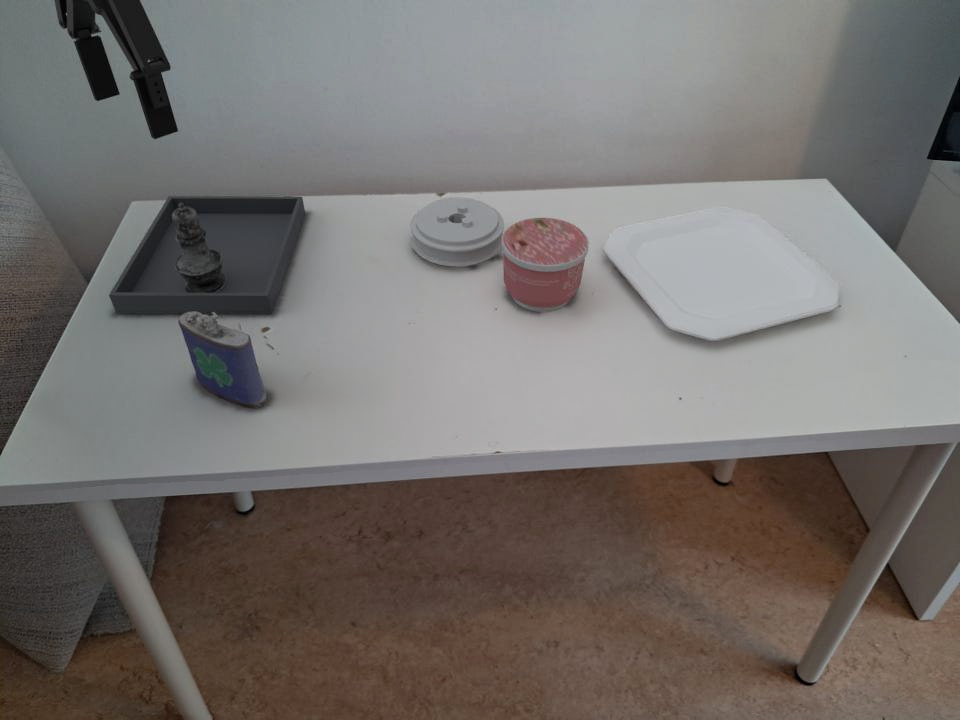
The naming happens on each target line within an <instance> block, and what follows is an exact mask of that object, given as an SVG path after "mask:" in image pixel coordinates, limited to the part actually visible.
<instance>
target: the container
mask: <svg viewBox="0 0 960 720" xmlns="http://www.w3.org/2000/svg"><path fill="white" fill-rule="evenodd" d="M588 239H589V238H588V237H587V235H586V234H585V232H584V231H583V230H582V229H581V228H579V227H578V226H576V225H575V224H573V223H571V222H569V221H566V220H562V219H560V218H559V219H558V218H553V217H531V218H527V219H523V220H519V221H517V222H515V223H513V224H511V225H510V226H509V227H508V228H506V229H505V231H503V236H502V240H501V246H502V248H501V251H502V266H503V267H502V270H503V283H504V285H505V287H506V289H507V291H508V294H509V295H510V296H511V297H512V299H513V301H514V302H515V303H516V304H517V305H518V306H520V307H521V308H524V309H526V310H529V311H532V312H537V313H538V312H539V313H549V312H554V311H557V310H559V309H562V308H564V307H565V306H567V304H568V303H569V302H570V301H571V300H572V299H573V298H574V296H575V295H576V293H577V292H578V290H579V289H580V287H581V283H582V278H583V272H584V267H585V262H586V257H587V255H588V252H589V245H590V244H589V243H590V242H589V240H588Z"/></svg>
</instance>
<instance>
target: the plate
mask: <svg viewBox="0 0 960 720" xmlns="http://www.w3.org/2000/svg"><path fill="white" fill-rule="evenodd" d="M602 253H603V254H604V255H605V256H606V258H608V260H609V261H610V262H611V263H612V265H614V267H615V268H616V269H617V270H618V271H619V273H621V275H622V276H623V277H624V279H625V280H626V281H627V282H628V283H629V284H630V285H631V287H633V289H634V290H635V291H636V292H637V294H638V295H639V296H640V297H641V298H642V299H643V301H644V302H645V303H646V305H648V307H649V308H650V309H651V310H652V311H653V312H654V313H655V315H656V316H657V318H659V319H660V320H661V322H662V323H663V324H664V325H665V327H667V328H668V329H670V330H672V331H673V332H674V331H675V332H678V333H682V334H685V335H688V336H692V337H696V338H700V339H703V340H707V341H711V342H712V341H713V342H717V341H722V340H725V339H730V338H732V337H737V336H740V335H743V334H748V333H752V332H757V331H760V330H763V329H768V328H771V327H774V326H779V325H782V324H783V325H784V324H787V323H790V322H794V321H797V320H801V319H805V318H806V319H807V318H810V317H813V316H817V315H820V314H821V315H822V314H825V313H828V312H832V311H834V310H835V309H836V308H838V306H839V300H840V293H841V289H842V284H841V282H840V281H839V280H838V279H837V278H835V277H834V276H833V275H832V274H830V273H829V272H828V271H827V270H826V269H824V268H823V267H822V266H821V265H820V264H818V263H817V262H816V261H815V260H814V259H813V258H811V257H810V256H809V255H807V253H805V252H804V251H803V250H801V248H799V247H798V246H797V245H796V244H795V243H794V242H792V241H790V239H788V238H787V237H786V236H784V234H782V233H781V232H780V231H779V230H778V229H776V228H775V227H773V225H771V224H770V223H769V222H768V221H767V220H765V219H764V218H763V217H762V216H761V215H759V214H757V213H755V212H750V211H746V210H741V209H737V208H733V207H728V206H722V205H721V206H714V207H710V208H705V209H700V210H696V211H691V212H685V213H680V214H677V215H671V216H666V217H662V218H657V219H652V220H651V219H650V220H647V221H643V222H637V223H632V224H628V225H623V226H619V227H618V226H617V227H615V228H614V229H612V230H611V232H610V233H609V235H608V236H607V238H606V239H605V241H604V244H603V245H602Z"/></svg>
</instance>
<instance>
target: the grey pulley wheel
mask: <svg viewBox="0 0 960 720" xmlns="http://www.w3.org/2000/svg"><path fill="white" fill-rule="evenodd" d="M504 228H505V221H504V217H503V216H502V214H501V213H500V212H499V211H498V210H497V209H496V208H494V207H492V206H491V205H489V204H487V203H486V202H484V201H481V200H480V199H475V198H470V197H461V196H458V197H446V198H441V199H438V200H434V201H432V202H430V203H428V204H425V206H423V207H422V208H420V209H419V210H417V211H416V213H414V214H413V216H412V218H411V220H410V231H411V234H412V235H411V245H412V248H413V250H414V251H415V253H416V254H417V255H418V256H420V257H421V258H422V259H424V260H426V261H428V262H430V263H434V264H436V265H440V266H446V267H467V266H474V265H476V264H477V265H478V264H481V263H483V262H486V261H488V260H490V259H492V258H493V257H495V256H496V255H497V254H499V252H501V250H502V246H501V240H502V236H503V234H504Z"/></svg>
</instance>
